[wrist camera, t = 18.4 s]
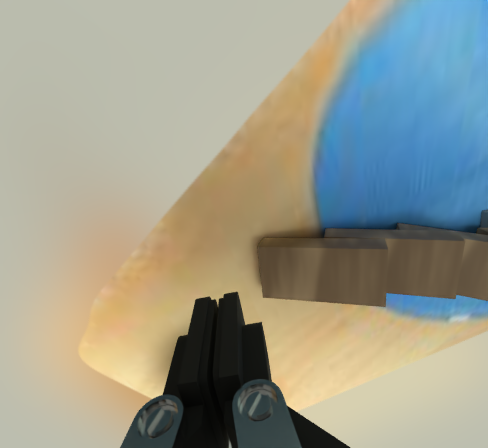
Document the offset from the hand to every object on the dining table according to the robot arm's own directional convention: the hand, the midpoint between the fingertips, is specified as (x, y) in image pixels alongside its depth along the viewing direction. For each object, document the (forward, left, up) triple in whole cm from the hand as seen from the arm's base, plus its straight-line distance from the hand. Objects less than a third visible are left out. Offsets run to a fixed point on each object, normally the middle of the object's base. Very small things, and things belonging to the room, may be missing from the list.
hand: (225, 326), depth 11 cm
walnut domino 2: (-8, +5, -14) cm, 17 cm away
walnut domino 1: (-3, +5, -14) cm, 15 cm away
